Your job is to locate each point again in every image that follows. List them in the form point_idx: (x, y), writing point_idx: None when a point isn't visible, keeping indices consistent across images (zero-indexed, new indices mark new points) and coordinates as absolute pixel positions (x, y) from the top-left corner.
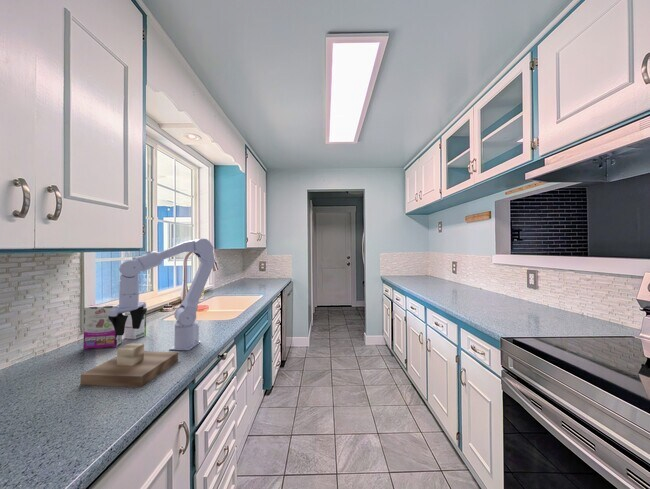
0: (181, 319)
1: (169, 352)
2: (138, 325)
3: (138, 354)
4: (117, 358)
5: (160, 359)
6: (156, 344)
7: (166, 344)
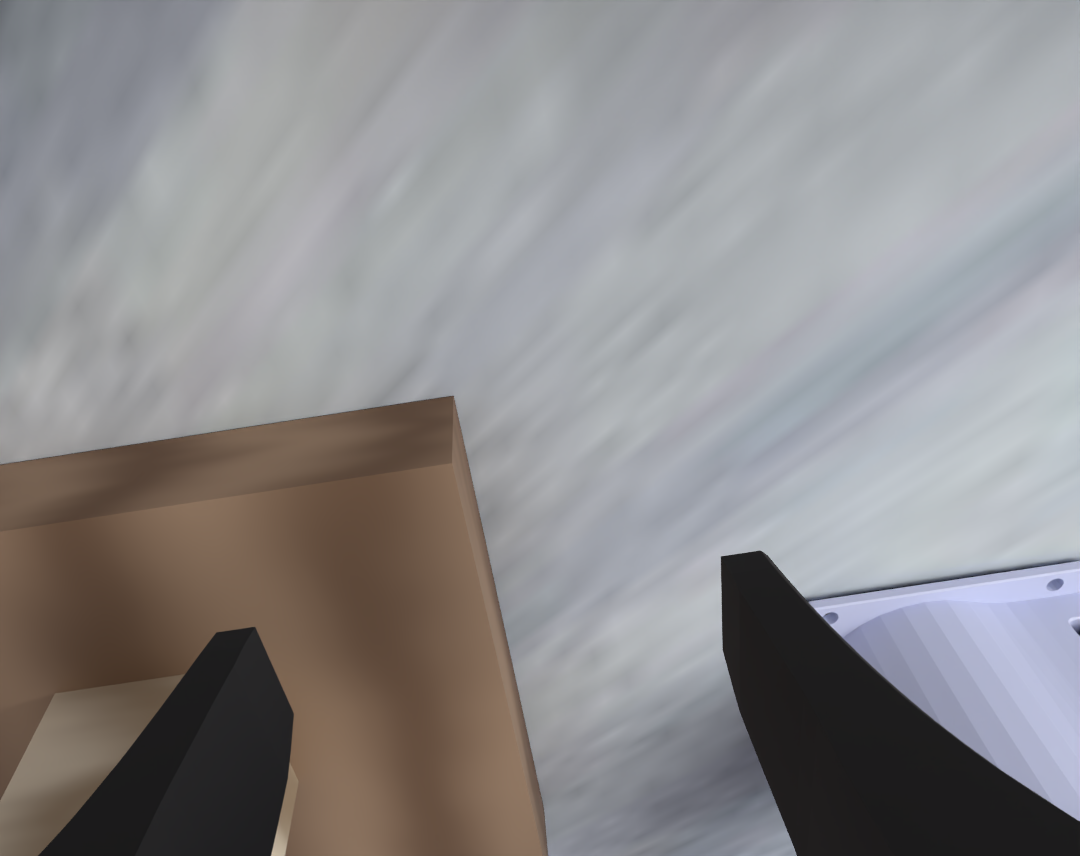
0: None
1: (526, 845)
2: (743, 718)
3: None
4: (23, 766)
5: None
6: (1028, 315)
7: (1013, 441)
